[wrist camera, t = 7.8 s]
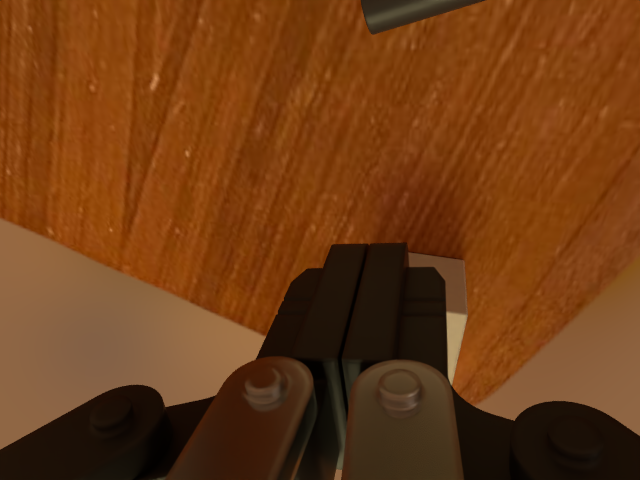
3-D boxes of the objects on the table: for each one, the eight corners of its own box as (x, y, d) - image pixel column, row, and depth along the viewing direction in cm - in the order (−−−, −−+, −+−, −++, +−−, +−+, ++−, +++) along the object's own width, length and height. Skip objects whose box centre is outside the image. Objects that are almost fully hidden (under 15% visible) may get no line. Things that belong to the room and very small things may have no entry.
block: (464, 259, 26) (468, 314, 22) (449, 332, 28) (450, 395, 24) (371, 246, 26) (358, 297, 22) (364, 318, 29) (351, 377, 25)
